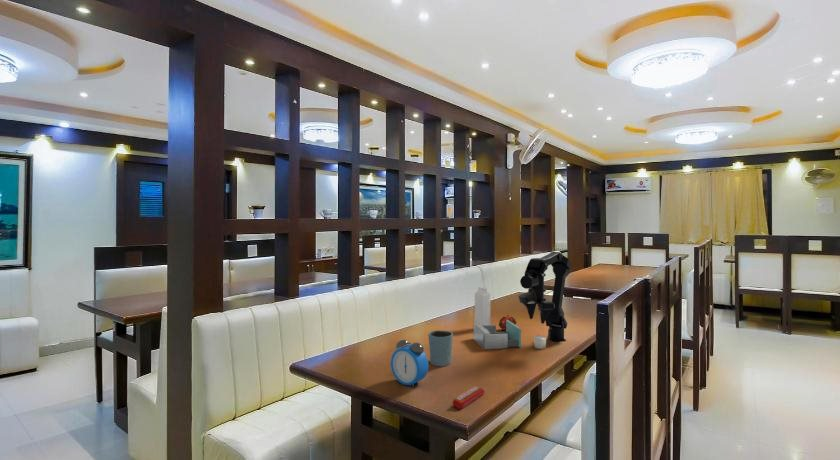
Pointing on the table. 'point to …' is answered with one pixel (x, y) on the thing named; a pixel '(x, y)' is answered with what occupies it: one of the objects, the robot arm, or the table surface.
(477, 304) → the milk
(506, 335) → the dock
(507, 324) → the drawer
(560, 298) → the robot arm
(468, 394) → the candy bar
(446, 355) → the grey-green cup
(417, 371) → the alarm clock
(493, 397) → the table surface
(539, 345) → the grey rounded tapered piece
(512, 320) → the dragon fruit
